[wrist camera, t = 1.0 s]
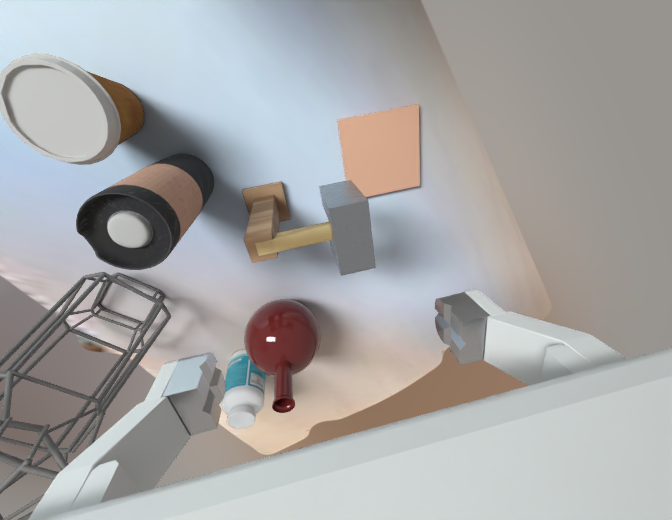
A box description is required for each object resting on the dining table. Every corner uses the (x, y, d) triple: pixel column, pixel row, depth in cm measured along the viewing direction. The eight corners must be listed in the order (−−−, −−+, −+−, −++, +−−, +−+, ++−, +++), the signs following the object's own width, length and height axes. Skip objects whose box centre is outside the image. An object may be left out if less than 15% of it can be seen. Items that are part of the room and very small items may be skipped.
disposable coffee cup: (89, 45, 34) (5, 22, 24) (171, 102, 38) (130, 104, 28) (61, 116, 37) (-24, 124, 27) (140, 163, 41) (92, 185, 30)
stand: (242, 189, 45) (225, 230, 31) (340, 169, 46) (366, 200, 32) (254, 224, 48) (243, 276, 34) (346, 205, 49) (372, 248, 35)
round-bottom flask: (264, 275, 53) (256, 362, 35) (328, 298, 57) (348, 384, 40) (238, 327, 57) (219, 427, 40) (298, 344, 62) (305, 440, 45)
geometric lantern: (153, 344, 56) (-10, 635, 26) (60, 306, 50) (-304, 633, 19) (196, 289, 52) (60, 562, 21) (100, 239, 45) (-293, 528, 15)
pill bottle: (228, 371, 62) (215, 434, 51) (231, 345, 59) (219, 406, 48) (263, 372, 64) (260, 433, 53) (268, 348, 61) (265, 407, 49)
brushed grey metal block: (319, 186, 36) (328, 208, 29) (350, 179, 36) (368, 200, 29) (330, 243, 40) (340, 275, 33) (358, 237, 40) (375, 267, 33)
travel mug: (224, 168, 43) (185, 216, 26) (205, 212, 46) (159, 283, 28) (168, 140, 40) (83, 173, 23) (152, 189, 43) (65, 251, 25)
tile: (337, 119, 42) (338, 120, 42) (416, 104, 43) (418, 104, 42) (348, 199, 48) (349, 200, 48) (418, 184, 49) (419, 185, 48)
